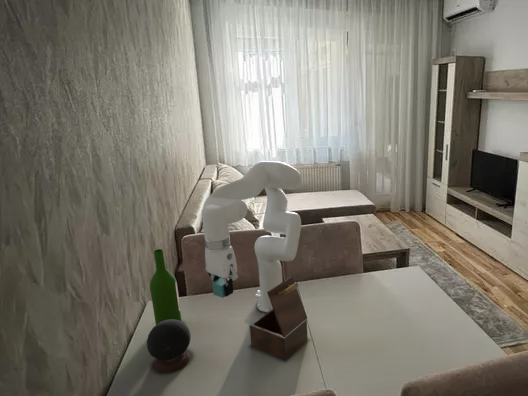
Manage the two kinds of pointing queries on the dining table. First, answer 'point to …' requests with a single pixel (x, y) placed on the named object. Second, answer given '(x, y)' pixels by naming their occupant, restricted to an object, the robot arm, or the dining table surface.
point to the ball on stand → (169, 345)
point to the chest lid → (287, 305)
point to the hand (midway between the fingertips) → (223, 292)
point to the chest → (276, 336)
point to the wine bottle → (164, 291)
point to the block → (219, 287)
